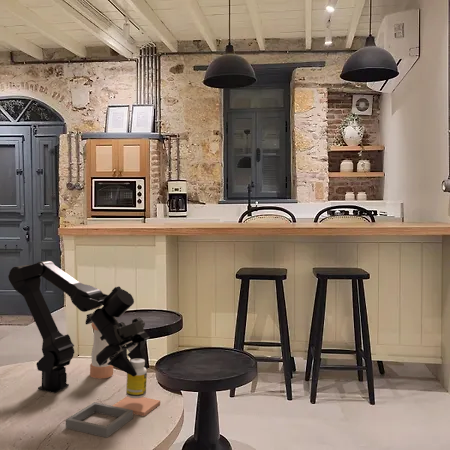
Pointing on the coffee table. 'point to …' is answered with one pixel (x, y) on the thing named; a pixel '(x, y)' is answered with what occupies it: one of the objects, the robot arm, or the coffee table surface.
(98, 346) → the pepper shaker
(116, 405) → the coaster
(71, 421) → the grey square frame
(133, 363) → the supplement bottle
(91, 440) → the coffee table surface
